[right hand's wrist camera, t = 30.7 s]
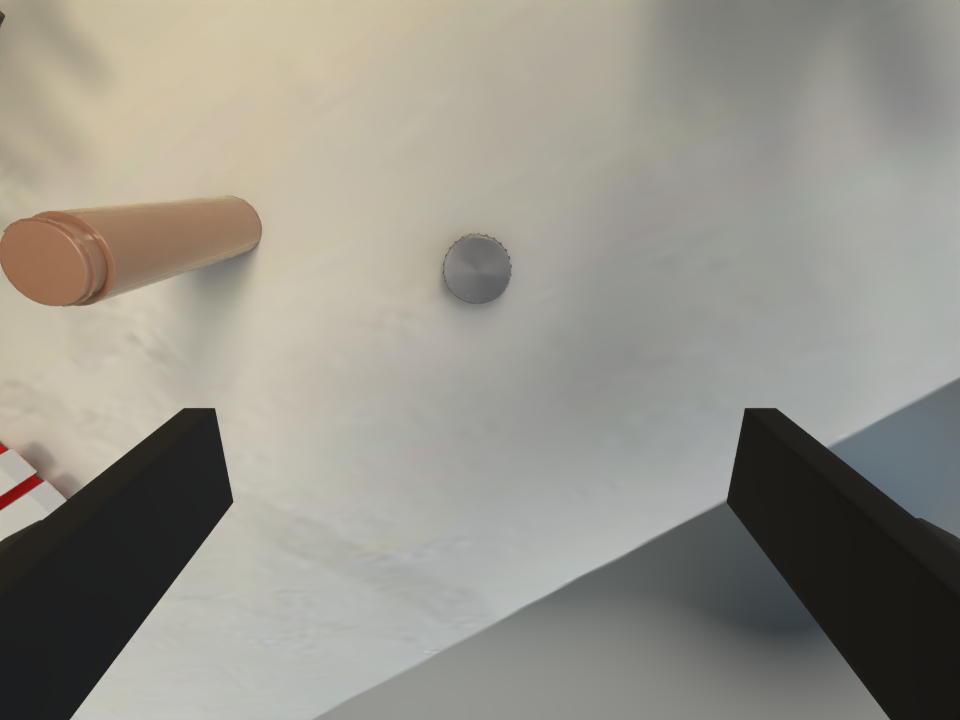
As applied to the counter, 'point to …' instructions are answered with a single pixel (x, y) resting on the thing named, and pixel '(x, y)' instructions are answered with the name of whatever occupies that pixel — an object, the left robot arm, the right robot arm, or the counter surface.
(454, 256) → the lid
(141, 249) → the jar
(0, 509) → the toy
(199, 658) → the counter surface
